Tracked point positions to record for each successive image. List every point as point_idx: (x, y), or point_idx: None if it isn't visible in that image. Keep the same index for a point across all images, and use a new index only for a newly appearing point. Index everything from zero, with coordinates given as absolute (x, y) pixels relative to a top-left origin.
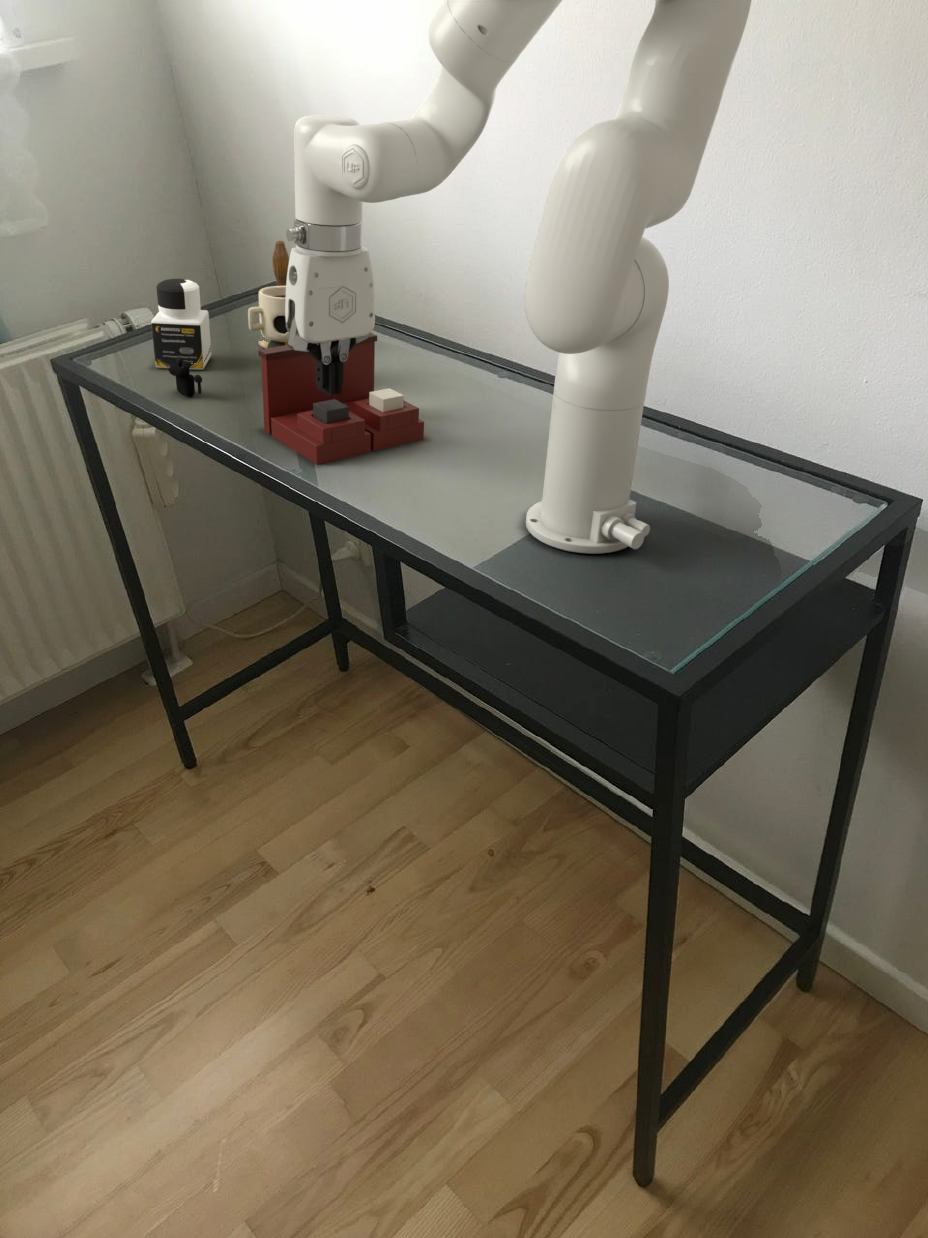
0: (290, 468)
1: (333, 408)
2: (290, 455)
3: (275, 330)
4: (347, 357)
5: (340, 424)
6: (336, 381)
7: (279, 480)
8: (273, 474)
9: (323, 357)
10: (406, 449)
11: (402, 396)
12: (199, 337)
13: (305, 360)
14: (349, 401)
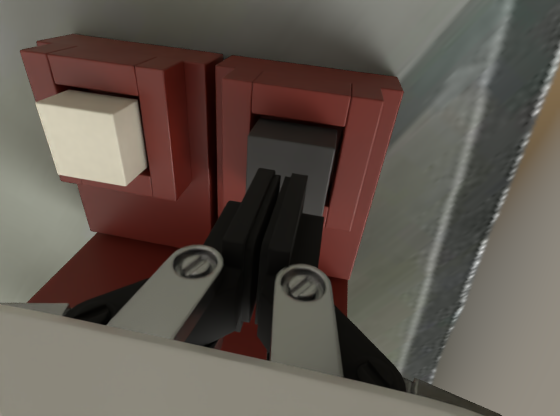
0: (461, 104)
1: (300, 153)
2: (396, 163)
3: None
4: (175, 252)
5: (312, 96)
6: (272, 198)
7: (554, 58)
8: (525, 101)
9: (327, 299)
10: (140, 8)
11: (42, 102)
12: None
13: None
14: (153, 247)
